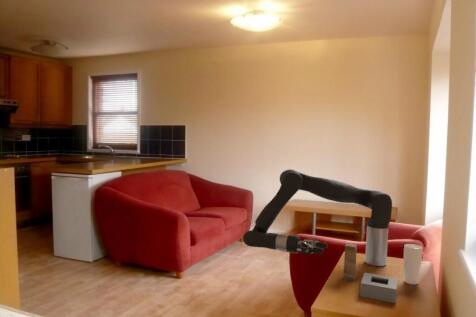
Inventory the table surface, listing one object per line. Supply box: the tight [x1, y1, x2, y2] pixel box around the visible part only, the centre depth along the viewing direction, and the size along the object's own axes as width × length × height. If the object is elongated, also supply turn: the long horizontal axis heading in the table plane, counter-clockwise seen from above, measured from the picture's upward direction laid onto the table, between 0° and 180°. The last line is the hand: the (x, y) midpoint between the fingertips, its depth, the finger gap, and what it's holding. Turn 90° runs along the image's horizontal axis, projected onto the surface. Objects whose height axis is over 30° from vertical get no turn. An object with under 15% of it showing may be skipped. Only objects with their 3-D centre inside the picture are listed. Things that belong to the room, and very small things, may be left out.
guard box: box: [359, 272, 398, 304], centre depth 143 cm, size 12×12×5 cm
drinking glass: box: [403, 243, 423, 286], centre depth 155 cm, size 7×7×15 cm
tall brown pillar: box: [343, 242, 358, 282], centre depth 157 cm, size 4×4×14 cm
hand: (325, 248), depth 161 cm, fingers open, 8 cm apart
